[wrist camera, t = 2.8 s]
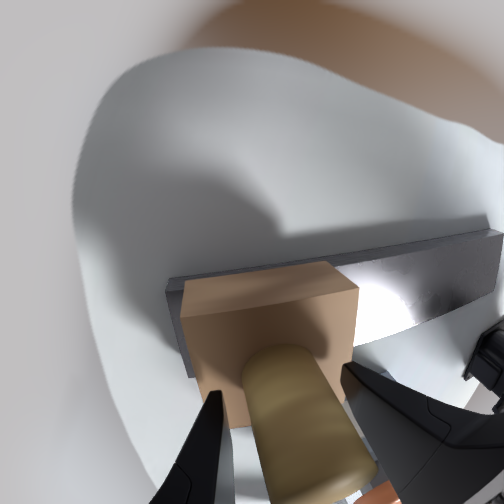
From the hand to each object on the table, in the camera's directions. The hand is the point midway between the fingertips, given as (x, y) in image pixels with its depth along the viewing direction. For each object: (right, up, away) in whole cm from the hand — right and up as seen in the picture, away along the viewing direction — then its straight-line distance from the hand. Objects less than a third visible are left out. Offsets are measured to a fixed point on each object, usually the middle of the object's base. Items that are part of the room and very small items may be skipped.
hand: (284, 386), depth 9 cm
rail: (+7, +3, +6) cm, 10 cm away
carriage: (-1, +1, +4) cm, 4 cm away
